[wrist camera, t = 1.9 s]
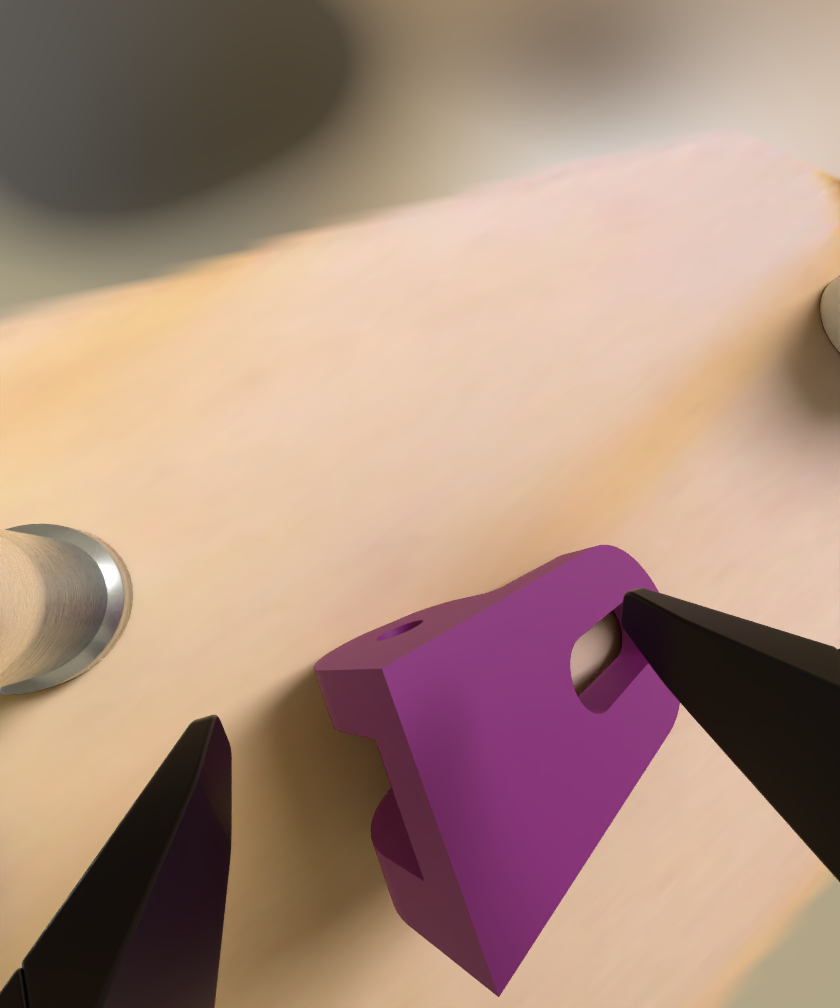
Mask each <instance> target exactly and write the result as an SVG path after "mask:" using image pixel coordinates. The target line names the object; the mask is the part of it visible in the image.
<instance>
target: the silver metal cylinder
mask: <svg viewBox="0 0 840 1008" xmlns="http://www.w3.org/2000/svg"><path fill="white" fill-rule="evenodd" d="M132 600H133V591H132V583H131V578H130V575H129V572H128V570H127V567H126V565H125V564H124V562H123V560H122V558H121V557H120V556H119V555H118V553H117V552H116V551H115V550H114V549H113V548H112V547H111V546H110V545H109V544H107V543H106V542H104V541H103V540H101V539H100V538H98V537H96V536H94V535H92V534H90V533H87V532H84V531H81V530H77V529H73V528H68V527H64V526H59V525H51V524H30V525H22V526H17V527H13V528H9V529H6V530H3V529H0V694H13V695H14V694H24V693H30V692H35V691H40V690H43V689H46V688H49V687H52V686H55V685H58V684H60V683H63V682H66V681H68V680H71V679H73V678H75V677H77V676H79V675H81V674H82V673H84V672H86V671H87V670H89V669H90V668H92V667H93V666H94V665H96V664H97V663H98V662H100V661H101V660H102V659H103V658H104V657H105V656H106V655H107V654H108V653H109V652H110V650H111V649H112V648H113V647H114V646H115V644H116V643H117V641H118V640H119V638H120V637H121V635H122V633H123V631H124V629H125V627H126V625H127V623H128V620H129V617H130V613H131V608H132Z"/></svg>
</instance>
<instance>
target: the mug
mask: <svg viewBox="0 0 840 1008" xmlns="http://www.w3.org/2000/svg"><path fill="white" fill-rule="evenodd" d="M820 313H821V319H822V323H823V326H824V329H825V331H826V334H827V336H828V337H829V339H830V341H831V342H832V344H833V345H834V347H835V348H836V349H837V350H838V352H839V353H840V276H838V277H837V278H835V279H834V280H833V281H832V282H831V283H830V284H829V285H828V286H827V287H826V289H825V290H824V292H823V295H822V298H821V303H820Z"/></svg>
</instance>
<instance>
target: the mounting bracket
mask: <svg viewBox="0 0 840 1008" xmlns="http://www.w3.org/2000/svg"><path fill="white" fill-rule="evenodd" d="M637 588H645V589H649V590H652V591H655V592H658V590H657V588H656V587H655V585H654V583H653V582H652V580H651V579H650V577H649V576H648V574H647V573H646V572H645V570H644V569H643V568H642V567H641V566H640V564H639V563H638V562H637V561H636V560H635V559H634V558H632V557H631V556H630V555H629V554H627V553H626V552H624V551H623V550H621V549H619V548H617V547H614V546H610V545H599V546H595V547H591V548H587V549H583V550H580V551H576V552H572V553H568V554H565V555H561V556H559V557H557V558H555V559H553V560H551V561H550V562H548V563H546V564H544V565H542V566H540V567H539V568H537V569H535V570H533V571H531V572H529V573H528V574H526V575H524V576H522V577H520V578H518V579H516V580H515V581H513V582H511V583H509V584H507V585H505V586H504V587H501V588H499V589H497V590H494V591H491V592H488V593H485V594H481V595H476V596H472V597H467V598H462V599H458V600H454V601H450V602H446V603H443V604H439V605H436V606H433V607H430V608H427V609H424V610H421V611H418V612H416V613H413V614H410V615H408V616H406V617H403V618H401V619H399V620H396V621H394V622H391V623H389V624H387V625H384V626H382V627H380V628H377V629H375V630H372V631H370V632H368V633H365V634H363V635H361V636H359V637H357V638H355V639H353V640H351V641H349V642H347V643H345V644H343V645H342V646H340V647H338V648H336V649H335V650H333V651H331V652H330V653H328V654H327V655H325V656H324V657H322V658H321V659H320V660H319V661H318V662H317V663H316V664H315V665H314V670H315V673H316V676H317V679H318V682H319V685H320V688H321V691H322V694H323V697H324V700H325V703H326V706H327V708H328V711H329V714H330V717H331V720H332V723H333V726H334V728H335V729H337V730H338V731H341V732H345V733H349V734H354V735H358V736H363V737H367V738H372V739H375V740H376V743H377V746H378V749H379V752H380V755H381V758H382V761H383V763H384V766H385V769H386V772H387V775H388V778H389V781H390V784H391V786H392V788H391V789H390V790H389V791H388V792H387V794H386V795H385V796H384V798H383V799H382V801H381V802H380V804H379V805H378V807H377V809H376V811H375V814H374V816H373V820H372V824H371V838H372V841H373V845H374V848H375V851H376V854H377V856H378V859H379V862H380V865H381V868H382V871H383V874H384V877H385V880H386V883H387V886H388V889H389V892H390V895H391V898H392V901H393V904H394V907H395V909H396V911H397V913H398V914H399V915H400V917H401V918H402V920H404V921H405V922H406V923H407V924H408V925H409V926H410V927H411V928H413V929H414V930H415V931H416V932H418V933H419V934H420V935H421V936H423V937H424V938H425V939H426V940H428V941H429V942H430V943H431V944H433V945H434V946H435V947H437V948H438V949H439V950H440V951H442V952H443V953H444V954H445V955H447V956H448V957H449V958H450V959H452V960H453V961H454V962H455V963H457V964H458V965H459V966H460V967H462V968H463V969H464V970H465V971H467V972H468V973H469V974H470V975H472V976H473V977H474V978H475V979H477V980H478V981H479V982H480V983H482V984H483V985H484V986H485V987H487V988H488V989H489V990H490V991H492V992H493V993H494V994H495V995H497V996H498V997H499V996H500V995H501V993H502V992H503V990H504V988H505V987H506V985H507V984H508V982H509V981H510V979H511V978H512V976H513V974H514V973H515V971H516V970H517V968H518V967H519V965H520V964H521V962H522V961H523V959H524V957H525V956H526V954H527V953H528V951H529V950H530V948H531V947H532V945H533V943H534V942H535V940H536V939H537V937H538V936H539V934H540V933H541V931H542V929H543V928H544V926H545V925H546V923H547V922H548V920H549V919H550V917H551V916H552V914H553V912H554V911H555V909H556V908H557V906H558V905H559V903H560V902H561V900H562V898H563V897H564V895H565V894H566V892H567V891H568V889H569V888H570V886H571V885H572V883H573V881H574V880H575V878H576V877H577V875H578V874H579V872H580V871H581V869H582V867H583V866H584V864H585V863H586V861H587V860H588V858H589V857H590V855H591V854H592V852H593V850H594V849H595V847H596V846H597V844H598V843H599V841H600V840H601V838H602V836H603V835H604V833H605V832H606V830H607V829H608V827H609V826H610V824H611V823H612V821H613V819H614V818H615V816H616V815H617V813H618V812H619V810H620V809H621V807H622V805H623V804H624V802H625V801H626V799H627V798H628V796H629V795H630V793H631V791H632V790H633V788H634V787H635V785H636V784H637V782H638V781H639V779H640V778H641V776H642V774H643V773H644V771H645V770H646V768H647V767H648V765H649V764H650V762H651V760H652V759H653V757H654V756H655V754H656V753H657V751H658V750H659V748H660V747H661V745H662V743H663V742H664V740H665V739H666V737H667V736H668V734H669V733H670V731H671V729H672V727H673V725H674V723H675V720H676V717H677V714H678V710H679V705H680V702H679V701H678V699H677V698H676V697H675V696H674V695H673V694H672V693H671V691H670V690H669V689H668V688H667V687H666V686H665V684H664V683H663V682H662V680H661V679H660V678H659V677H658V675H657V674H656V673H655V671H654V670H653V669H652V667H651V666H650V664H649V663H648V662H647V660H646V659H645V658H644V656H643V655H642V654H641V652H640V651H639V650H638V648H637V647H636V646H635V644H634V643H633V642H632V640H631V639H630V638H629V636H628V635H627V633H626V632H625V631H624V629H623V627H622V625H621V611H622V603H623V597H624V594H625V593H626V592H627V591H631V590H634V589H637ZM658 593H659V592H658ZM612 610H614V612H615V614H616V616H617V618H618V620H619V623H620V626H621V631H622V648H621V652H620V654H619V656H618V657H617V658H616V659H615V660H614V661H613V662H612V663H611V664H610V665H609V666H608V667H607V668H606V669H605V670H604V671H603V672H602V673H601V674H600V675H599V676H598V677H597V678H596V679H595V680H594V681H593V682H592V683H591V684H590V685H589V686H588V687H587V688H586V689H585V690H584V691H583V692H582V693H581V694H580V695H579V696H577V694H576V692H575V689H574V686H573V683H572V678H571V672H570V657H571V652H572V648H573V646H574V644H575V642H576V641H577V639H578V638H580V637H581V636H582V635H583V634H584V633H586V632H587V631H588V630H589V629H590V628H592V627H593V626H594V625H595V624H597V623H598V622H599V621H600V620H601V619H603V618H604V617H605V616H606V615H607V614H609V613H610V612H611V611H612Z"/></svg>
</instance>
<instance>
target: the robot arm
mask: <svg viewBox="0 0 840 1008" xmlns="http://www.w3.org/2000/svg"><path fill="white" fill-rule="evenodd" d="M621 625H622V627H623V629H624V631H625V632H626V633H627V635H628V636H629V638H630V639H631V640H632V642H633V643H634V644H635V646H636V647H637V648H638V650H639V651H640V652H641V654H642V655H643V656H644V658H645V659H646V660H647V662H648V663H649V664H650V666H651V667H652V669H653V670H654V671H655V673H656V674H657V675H658V677H659V678H660V679H661V680H662V682H663V683H664V684H665V686H666V687H667V688H668V689H669V690H670V691H671V693H672V694H673V695H674V696H675V697H676V698H677V699H678V701H679V702H680V703H681V704H682V705H683V706H684V707H685V708H686V710H687V711H688V712H689V713H690V714H691V715H692V716H693V718H694V719H695V720H696V721H697V722H698V723H699V724H700V725H701V727H702V728H703V729H704V730H705V731H706V732H707V733H708V734H709V736H710V737H711V738H712V739H713V740H714V741H715V742H716V743H717V745H718V746H719V747H720V748H721V749H722V750H723V751H724V752H725V754H726V755H727V756H728V757H729V758H730V759H731V760H732V761H733V763H734V764H735V765H736V766H737V767H738V768H739V769H740V770H741V772H742V773H743V774H744V775H745V776H746V777H747V778H748V779H749V781H750V782H751V783H752V784H753V785H754V786H755V787H756V788H757V790H758V791H759V792H760V793H761V794H762V795H763V796H764V797H765V799H766V800H767V801H768V802H769V803H770V804H771V805H772V806H773V808H774V809H775V810H776V811H777V812H778V813H779V814H780V815H781V817H782V818H783V819H784V820H785V821H786V822H787V823H788V824H789V826H790V827H791V828H792V829H793V830H794V831H795V832H796V833H797V835H798V836H799V837H800V838H801V839H802V840H803V841H804V843H805V844H806V845H807V846H808V847H809V848H810V849H811V850H812V852H813V853H814V854H815V855H816V856H817V857H818V858H819V859H820V861H821V862H822V863H823V864H824V865H825V866H826V867H827V868H828V870H829V871H830V872H831V873H832V874H833V875H834V876H835V877H836V879H837V880H838V881H839V882H840V649H836V648H835V647H833V646H830V645H826V644H823V643H820V642H817V641H813V640H810V639H807V638H804V637H801V636H797V635H794V634H791V633H788V632H784V631H781V630H778V629H775V628H771V627H768V626H765V625H762V624H758V623H755V622H752V621H749V620H746V619H742V618H739V617H736V616H733V615H729V614H726V613H723V612H720V611H716V610H713V609H710V608H707V607H703V606H700V605H697V604H694V603H691V602H687V601H684V600H681V599H678V598H674V597H671V596H668V595H665V594H661V593H658V592H655V591H652V590H649V589H645V588H637V589H634V590H631V591H627V592H626V593H625V594H624V597H623V603H622V611H621ZM231 827H232V757H231V747H230V743H229V741H228V738H227V736H226V733H225V731H224V728H223V726H222V723H221V721H220V719H219V717H218V716H217V715H210V716H207V717H204V718H200V719H197V720H194V721H193V722H192V723H191V724H190V725H189V726H188V728H187V729H186V730H185V732H184V733H183V735H182V736H181V737H180V739H179V740H178V742H177V743H176V745H175V746H174V747H173V749H172V750H171V752H170V753H169V754H168V756H167V757H166V759H165V760H164V762H163V763H162V764H161V766H160V767H159V769H158V770H157V771H156V773H155V774H154V776H153V777H152V779H151V780H150V781H149V783H148V784H147V786H146V787H145V788H144V790H143V791H142V793H141V794H140V796H139V797H138V798H137V800H136V801H135V803H134V804H133V806H132V807H131V808H130V810H129V811H128V813H127V814H126V815H125V817H124V818H123V820H122V821H121V823H120V824H119V825H118V827H117V828H116V830H115V831H114V832H113V834H112V835H111V837H110V838H109V840H108V841H107V842H106V844H105V845H104V847H103V848H102V849H101V851H100V852H99V854H98V855H97V857H96V858H95V859H94V861H93V862H92V864H91V865H90V866H89V868H88V869H87V871H86V872H85V874H84V875H83V876H82V878H81V879H80V881H79V882H78V883H77V885H76V886H75V888H74V889H73V891H72V892H71V893H70V895H69V896H68V898H67V899H66V900H65V902H64V903H63V905H62V906H61V908H60V909H59V910H58V912H57V913H56V915H55V916H54V917H53V919H52V920H51V922H50V923H49V925H48V926H47V927H46V929H45V930H44V932H43V933H42V934H41V936H40V937H39V939H38V940H37V942H36V943H35V944H34V946H33V947H32V949H31V950H30V951H29V953H28V954H27V956H26V957H25V959H24V960H23V962H22V968H19V969H17V970H16V971H15V972H14V974H13V975H12V977H11V978H10V979H9V981H8V982H7V984H6V985H5V986H4V988H3V989H2V991H1V992H0V1008H214V1007H215V998H216V988H217V979H218V969H219V960H220V951H221V941H222V932H223V922H224V913H225V904H226V894H227V885H228V875H229V866H230V855H231Z"/></svg>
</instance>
